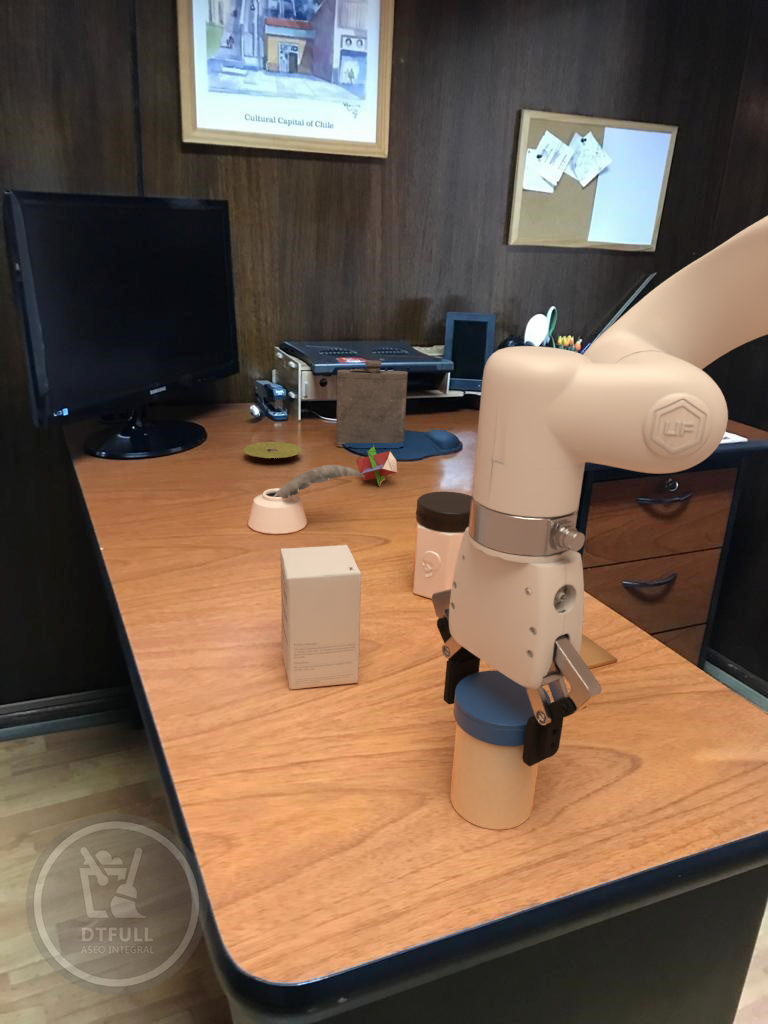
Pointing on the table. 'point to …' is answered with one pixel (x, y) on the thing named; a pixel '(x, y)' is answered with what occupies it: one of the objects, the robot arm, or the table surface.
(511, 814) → the jam jar
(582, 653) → the coaster
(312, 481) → the inkwell
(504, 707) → the lid
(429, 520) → the jar
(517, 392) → the robot arm
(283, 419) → the table surface
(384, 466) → the geometric puzzle
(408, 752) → the table surface
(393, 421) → the flask
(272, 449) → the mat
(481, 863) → the table surface
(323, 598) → the white packaging box
